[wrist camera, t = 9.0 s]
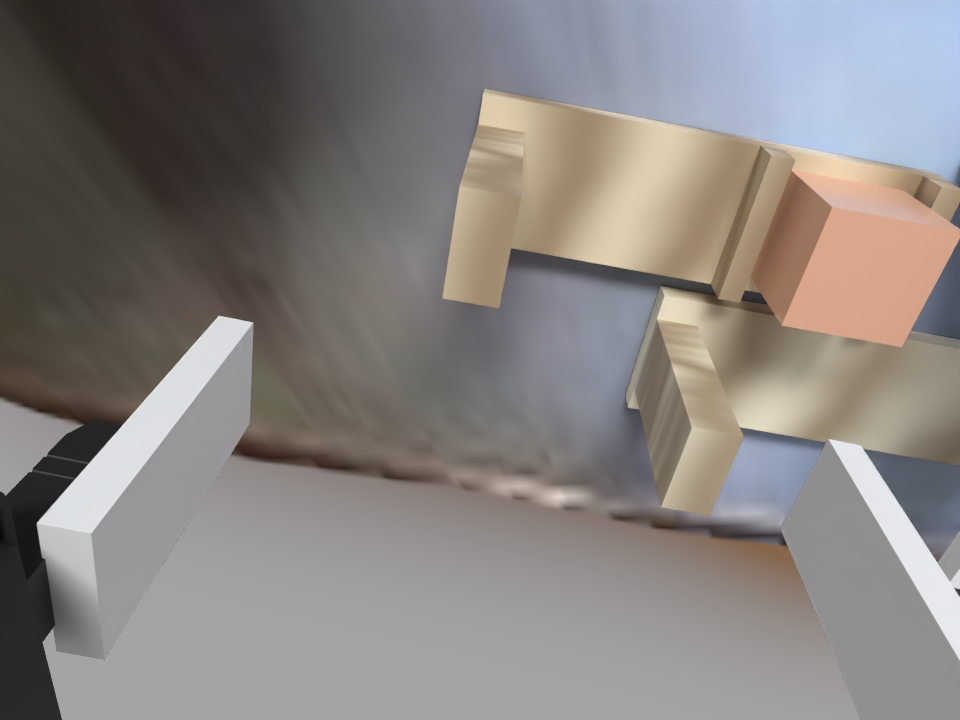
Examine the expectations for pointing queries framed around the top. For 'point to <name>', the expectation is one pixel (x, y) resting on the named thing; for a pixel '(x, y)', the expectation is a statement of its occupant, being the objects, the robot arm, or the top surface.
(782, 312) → the cube
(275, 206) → the top surface
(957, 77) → the top surface
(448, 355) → the top surface
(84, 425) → the robot arm
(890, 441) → the strip
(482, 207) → the strip
